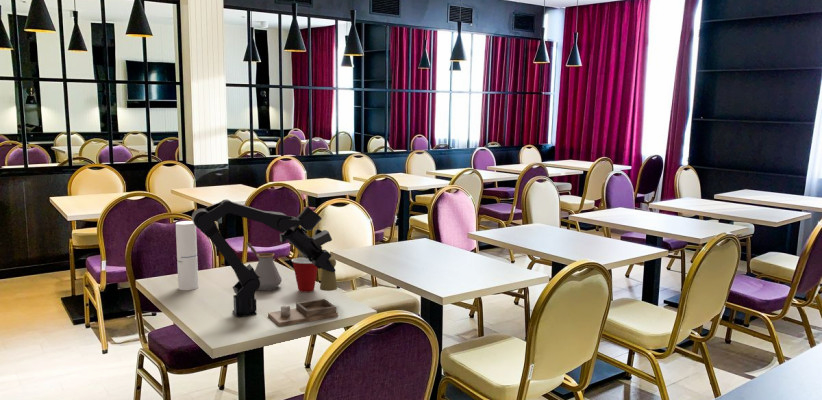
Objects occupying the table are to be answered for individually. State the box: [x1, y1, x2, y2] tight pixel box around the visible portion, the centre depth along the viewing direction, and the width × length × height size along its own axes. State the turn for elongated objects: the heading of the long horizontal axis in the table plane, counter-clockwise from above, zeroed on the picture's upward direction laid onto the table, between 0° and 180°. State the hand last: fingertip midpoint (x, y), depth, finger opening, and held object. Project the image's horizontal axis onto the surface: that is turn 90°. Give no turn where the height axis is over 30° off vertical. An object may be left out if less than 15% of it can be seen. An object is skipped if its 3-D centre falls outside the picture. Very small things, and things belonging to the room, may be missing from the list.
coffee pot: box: [244, 242, 282, 291], centre depth 242 cm, size 21×12×15 cm, turn 40°
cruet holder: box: [267, 298, 339, 327], centre depth 206 cm, size 20×11×4 cm, turn 120°
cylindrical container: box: [175, 220, 199, 291], centre depth 236 cm, size 7×7×25 cm
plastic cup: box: [291, 257, 318, 293], centre depth 236 cm, size 11×11×12 cm
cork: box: [319, 256, 338, 292], centre depth 219 cm, size 6×6×11 cm
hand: (332, 269), depth 220 cm, fingers closed on cork, 5 cm apart
